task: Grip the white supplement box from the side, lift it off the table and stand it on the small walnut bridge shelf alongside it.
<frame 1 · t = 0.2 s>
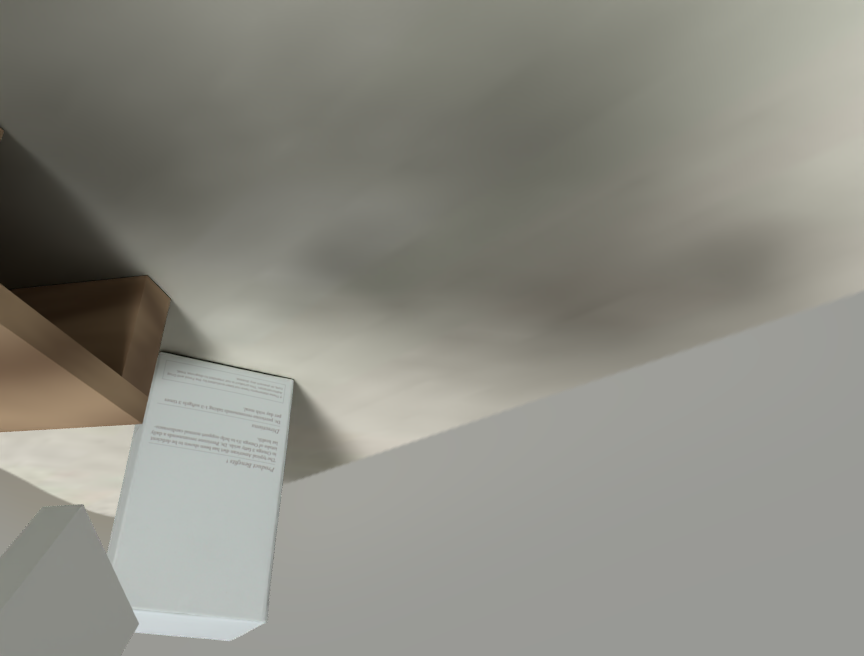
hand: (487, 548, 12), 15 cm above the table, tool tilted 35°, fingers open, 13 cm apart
supplement box: (217, 385, 45), on the table
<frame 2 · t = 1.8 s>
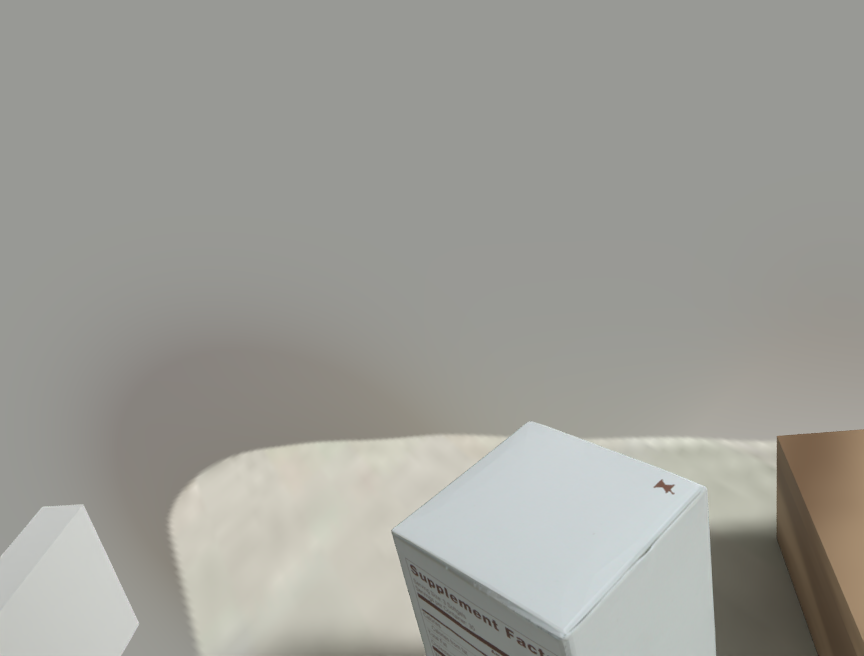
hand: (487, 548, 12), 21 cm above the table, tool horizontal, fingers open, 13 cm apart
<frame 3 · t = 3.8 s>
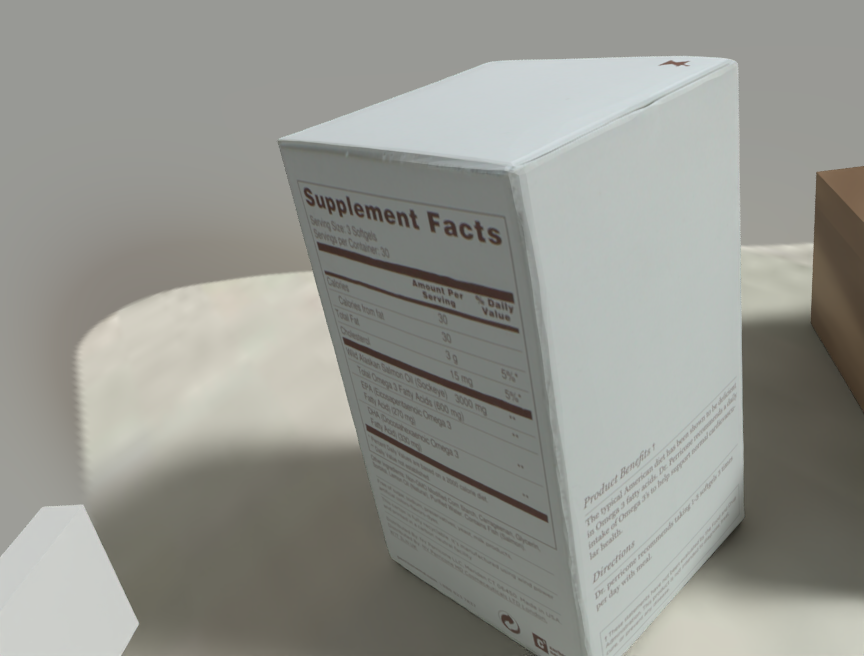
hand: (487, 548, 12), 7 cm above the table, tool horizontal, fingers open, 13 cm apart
supplement box: (563, 548, 23), on the table
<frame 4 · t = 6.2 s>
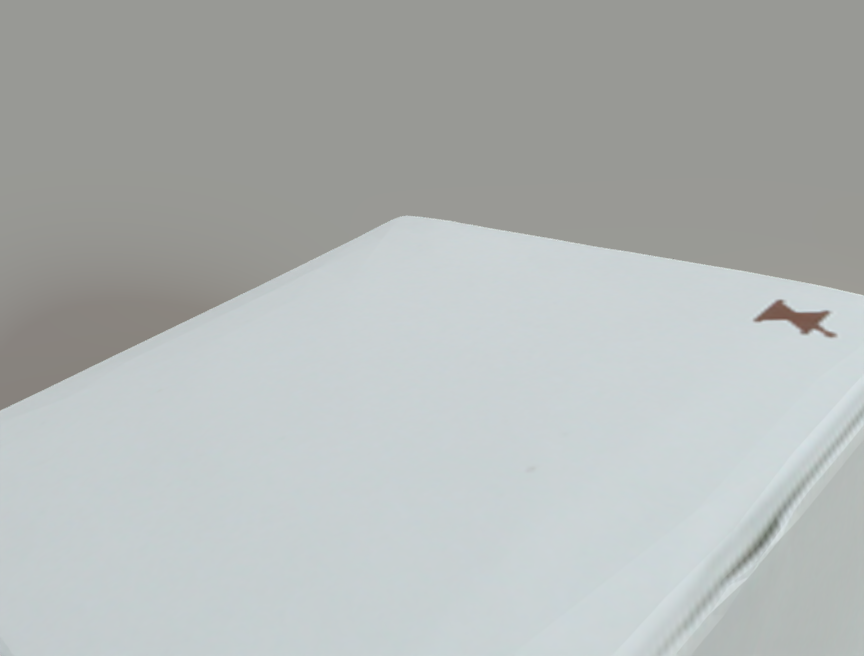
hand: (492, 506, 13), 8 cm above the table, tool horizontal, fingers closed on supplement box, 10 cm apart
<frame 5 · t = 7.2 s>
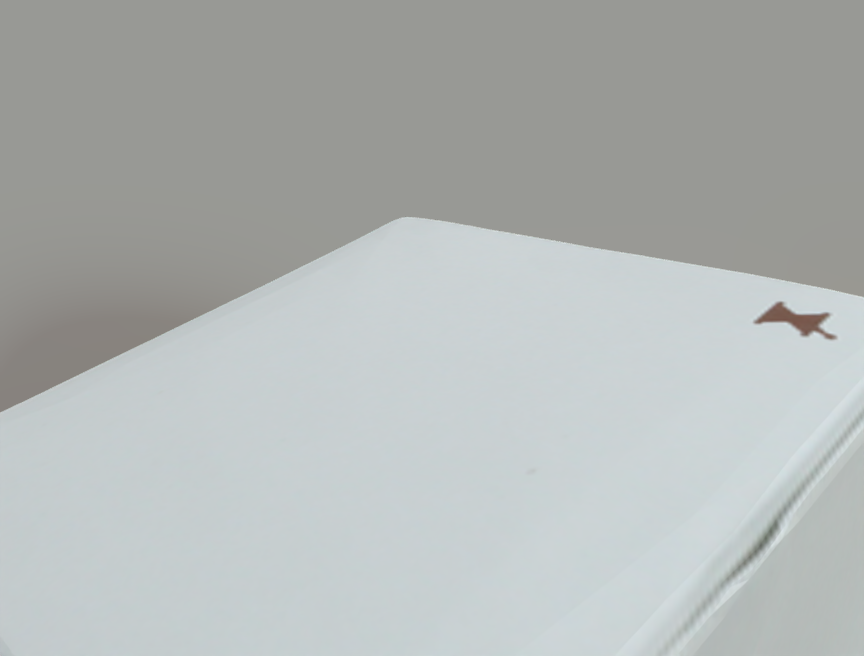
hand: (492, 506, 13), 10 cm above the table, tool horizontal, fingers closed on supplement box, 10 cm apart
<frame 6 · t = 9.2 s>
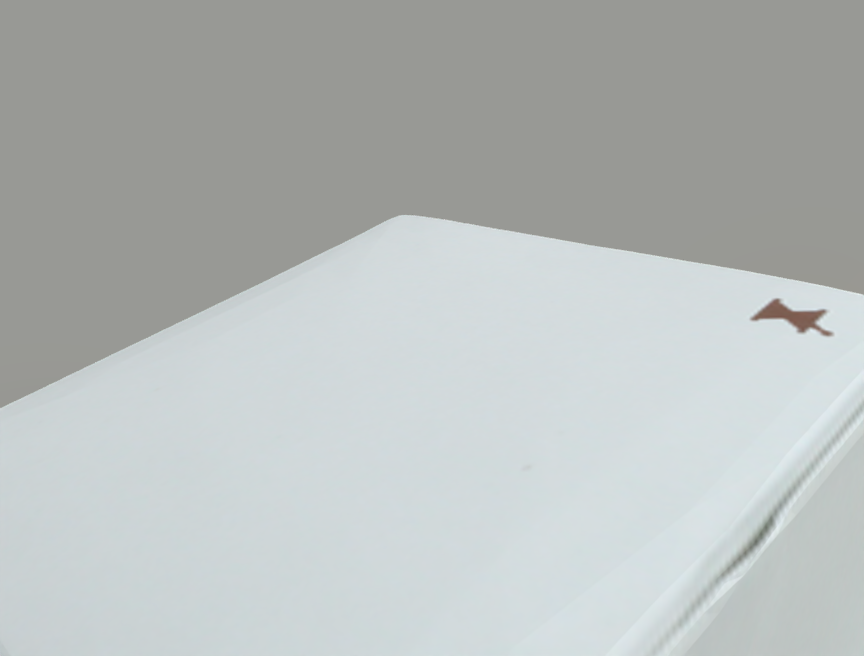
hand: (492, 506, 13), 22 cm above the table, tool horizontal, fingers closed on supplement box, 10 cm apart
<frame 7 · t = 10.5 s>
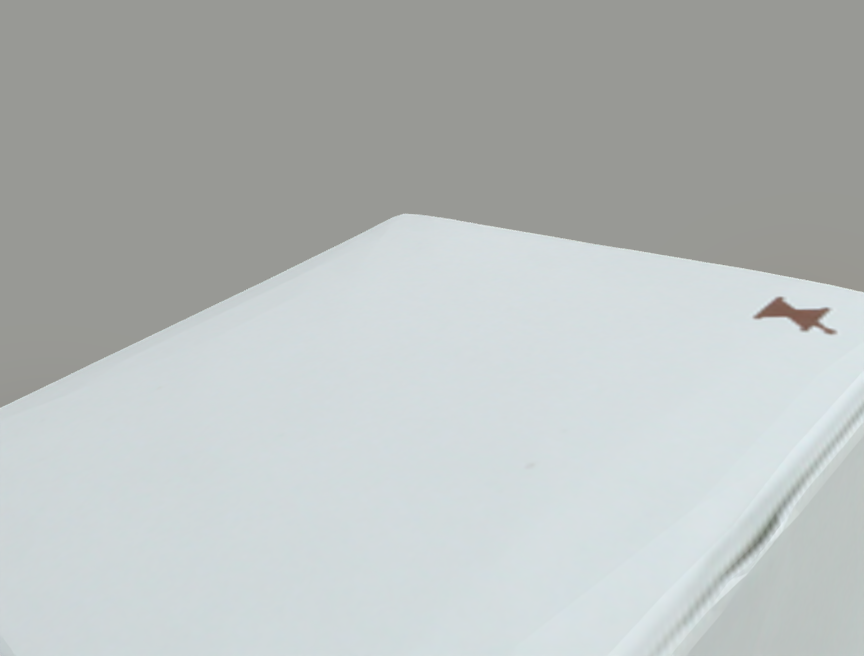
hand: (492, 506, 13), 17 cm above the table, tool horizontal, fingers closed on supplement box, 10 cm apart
when the fingers open (15 cm above the table, at t = 11.6 s): supplement box drops 1 cm, resting on shelf.
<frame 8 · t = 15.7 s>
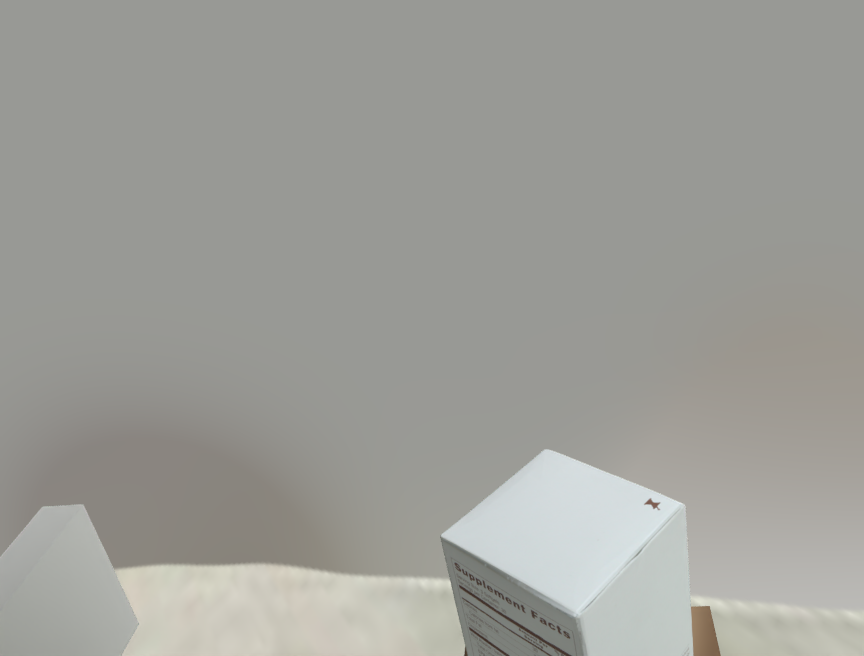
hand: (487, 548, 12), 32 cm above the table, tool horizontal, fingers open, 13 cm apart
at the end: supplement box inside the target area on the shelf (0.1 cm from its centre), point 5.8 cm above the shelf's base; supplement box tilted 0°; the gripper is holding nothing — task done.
